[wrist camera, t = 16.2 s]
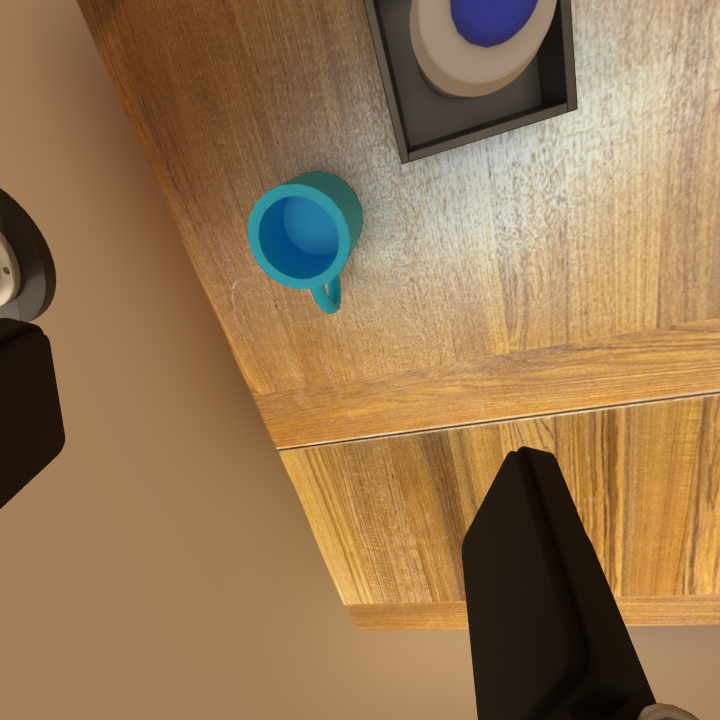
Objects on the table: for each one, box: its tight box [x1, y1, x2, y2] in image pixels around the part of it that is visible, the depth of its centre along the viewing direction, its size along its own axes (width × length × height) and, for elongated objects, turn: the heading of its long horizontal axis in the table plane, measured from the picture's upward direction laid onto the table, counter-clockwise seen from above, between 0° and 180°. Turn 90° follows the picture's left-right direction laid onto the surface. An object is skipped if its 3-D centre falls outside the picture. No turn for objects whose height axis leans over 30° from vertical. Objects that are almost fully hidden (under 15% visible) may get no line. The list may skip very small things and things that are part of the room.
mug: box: [248, 171, 363, 314], centre depth 38 cm, size 12×8×8 cm
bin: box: [363, 0, 578, 164], centre depth 30 cm, size 12×12×8 cm
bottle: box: [410, 0, 557, 99], centre depth 25 cm, size 7×7×20 cm
